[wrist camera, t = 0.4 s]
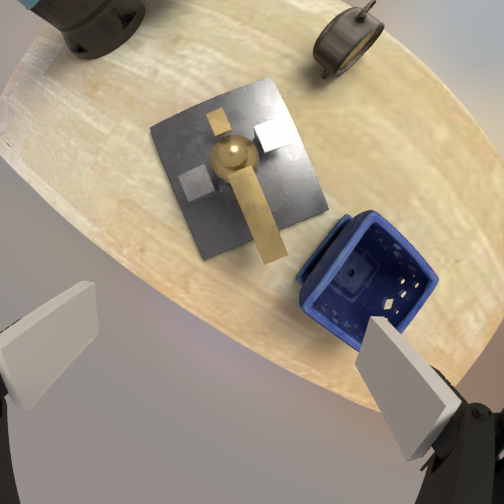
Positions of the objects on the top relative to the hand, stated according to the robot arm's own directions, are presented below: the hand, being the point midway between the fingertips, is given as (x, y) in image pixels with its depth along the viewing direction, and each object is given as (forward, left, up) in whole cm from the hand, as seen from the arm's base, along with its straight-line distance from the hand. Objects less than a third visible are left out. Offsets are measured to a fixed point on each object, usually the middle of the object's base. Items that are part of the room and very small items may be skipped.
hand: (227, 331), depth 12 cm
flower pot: (+9, +12, -27) cm, 31 cm away
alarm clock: (-21, +23, -27) cm, 41 cm away
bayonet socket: (-10, +3, -26) cm, 28 cm away
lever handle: (-7, +3, -21) cm, 23 cm away
